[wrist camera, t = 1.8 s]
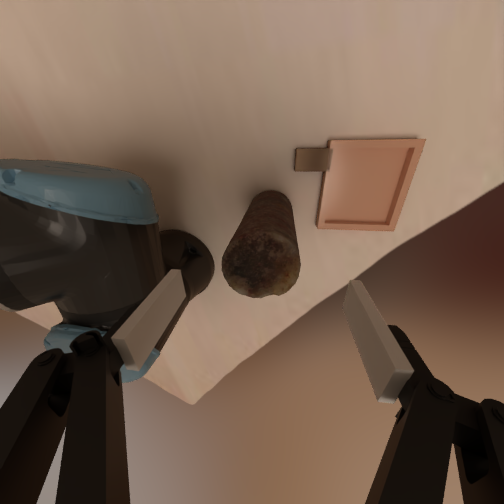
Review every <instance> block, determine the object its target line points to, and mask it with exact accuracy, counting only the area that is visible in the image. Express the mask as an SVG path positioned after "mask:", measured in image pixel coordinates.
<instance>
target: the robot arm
mask: <svg viewBox="0 0 504 504" xmlns="http://www.w3.org/2000/svg"><path fill="white" fill-rule="evenodd" d="M158 220H159V216H158V214H157V213H156V210H155V206H154V202H153V198H152V194H151V190H150V188H149V186H148V184H147V183H146V182H145V181H144V180H143V179H142V178H140V177H139V176H137V175H135V174H132V173H129V172H126V171H122V170H118V169H113V168H107V167H101V166H94V165H87V164H78V163H69V162H59V161H46V160H20V159H0V309H2V310H5V311H10V312H15V311H20V310H24V309H27V308H31V307H34V306H38V305H42V304H45V303H49V302H53V301H54V302H55V304H56V305H57V307H58V309H59V311H60V313H61V315H62V317H63V321H62V322H61V323H59V324H57V325H55V326H53V327H52V328H51V331H50V332H49V333H48V334H47V336H46V337H45V339H44V346H45V348H46V350H47V351H45V352H43V353H42V354H40V355H38V356H37V357H36V358H35V359H34V360H33V361H32V362H31V363H30V365H29V366H28V368H27V369H26V371H25V372H24V374H23V375H22V377H21V378H20V380H19V381H18V383H17V384H16V386H15V387H14V389H13V390H12V392H11V393H10V395H9V396H8V398H7V399H6V401H5V402H4V404H3V405H2V407H1V408H0V504H36V503H37V500H38V498H39V495H40V493H41V490H42V487H43V485H44V482H45V480H46V477H47V474H48V472H49V469H50V466H51V464H52V461H53V459H54V456H55V453H56V451H57V448H58V445H59V443H60V440H61V438H62V435H63V433H64V430H65V427H66V431H65V439H64V445H63V453H62V460H61V467H60V475H59V481H58V488H57V495H56V503H55V504H130V493H129V479H128V464H127V450H126V436H125V421H124V406H123V391H122V383H125V382H131V381H134V380H137V379H139V378H141V377H142V376H144V375H145V374H146V373H147V371H148V370H149V369H150V367H151V366H152V364H153V363H154V362H155V360H156V359H157V358H158V357H159V355H160V352H161V350H162V348H163V346H164V345H165V343H166V341H167V339H168V338H169V336H170V334H171V332H172V331H173V329H174V327H175V325H176V324H177V322H178V320H179V318H180V317H181V315H182V313H183V311H184V310H185V308H186V306H187V304H188V303H189V301H190V300H192V299H193V298H194V297H195V296H196V295H198V294H199V293H201V292H202V291H204V290H205V289H206V287H207V286H208V285H209V283H210V281H211V279H212V277H213V274H214V261H213V258H212V255H211V253H210V252H209V250H208V249H207V247H206V246H205V245H204V244H203V243H202V242H201V241H200V240H198V239H197V238H196V237H194V236H192V235H190V234H188V233H186V232H182V231H178V230H166V231H162V232H159V227H158ZM342 308H343V311H344V314H345V317H346V319H347V322H348V324H349V327H350V330H351V332H352V335H353V338H354V340H355V343H356V345H357V348H358V351H359V353H360V356H361V358H362V361H363V364H364V367H365V369H366V372H367V374H368V377H369V380H370V382H371V385H372V388H373V390H374V393H375V395H376V398H377V401H378V402H386V403H395V401H396V399H397V398H399V400H400V403H401V405H402V407H401V409H400V410H399V412H398V413H397V415H396V416H395V417H396V418H397V419H396V422H395V425H394V427H393V430H392V433H391V435H390V438H389V440H388V443H387V446H386V449H385V451H384V454H383V457H382V459H381V462H380V465H379V468H378V471H377V473H376V476H375V478H374V481H373V484H372V486H371V489H370V492H369V494H368V497H367V500H366V503H365V504H443V498H444V491H445V485H446V479H447V472H448V466H449V459H450V453H451V446H452V443H453V444H454V448H455V454H456V459H457V466H458V471H459V478H460V483H461V489H462V495H463V501H464V504H504V404H503V403H501V402H499V401H496V400H493V399H484V400H483V401H482V402H481V403H478V402H475V401H473V400H470V399H467V398H464V397H462V396H459V395H457V394H455V393H454V392H453V391H452V390H451V389H450V388H449V387H448V386H447V385H446V384H444V383H443V382H442V381H440V380H438V379H436V378H434V376H433V375H432V373H431V372H430V370H429V369H428V367H427V366H426V364H425V363H424V361H423V360H422V358H421V357H420V355H419V354H418V352H417V351H416V350H415V348H414V346H413V345H412V343H410V340H409V339H408V337H407V336H406V334H405V333H404V332H403V331H402V330H401V329H400V328H398V327H397V326H395V325H387V324H386V322H385V321H384V319H383V317H382V316H381V314H380V312H379V311H378V309H377V307H376V306H375V304H374V302H373V300H372V299H371V297H370V295H369V294H368V292H367V290H366V289H365V287H364V285H363V284H362V282H361V281H356V280H350V281H349V285H348V289H347V293H346V297H345V300H344V304H343V307H342Z"/></svg>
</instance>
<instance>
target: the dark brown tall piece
mask: <svg viewBox="0 0 504 504" xmlns="http://www.w3.org/2000/svg"><path fill="white" fill-rule="evenodd" d="M300 266H301V263H300V256H299V249H298V243H297V237H296V231H295V224H294V217H293V210H292V206H291V203H290V201H289V199H288V198H287V197H286V196H285V195H284V194H282V193H279V192H277V191H272V190H270V191H265V192H262V193H260V194H259V195H257V196H256V197H255V198H254V199H253V201H252V202H251V204H250V206H249V208H248V210H247V212H246V214H245V215H244V217H243V219H242V221H241V223H240V225H239V227H238V228H237V230H236V232H235V234H234V236H233V237H232V239H231V240H230V243H229V245H228V246H227V248H226V250H225V252H224V255H223V257H222V272H223V275H224V278H225V279H226V281H227V282H228V284H229V286H230V287H232V289H233V290H235V291H236V292H238V293H239V294H242V295H246V296H249V297H252V298H262V297H265V296H269V295H273V294H274V295H278V296H279V295H281V294H284V293H286V292H287V291H289V290H290V288H291V287H292V286H293V285H294V284H295V283H296V281H297V279H298V277H299V272H300Z"/></svg>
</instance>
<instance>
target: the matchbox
mask: <svg viewBox="0 0 504 504" xmlns="http://www.w3.org/2000/svg"><path fill="white" fill-rule="evenodd" d="M330 149H331V150H330ZM329 150H330V151H329ZM329 152H330V153H331V155H332V154H333V152H332V148H310V149H296V155H295V167H294V170H295V171H327V168H328V170H329V169H330V167H329V166H330V165H329V164H331V161H332V159H331V157H332V156H331V155H329V154H330V153H329ZM330 156H331V157H330ZM328 157H329V160H328ZM330 159H331V161H330ZM328 161H330V162H329V163H328ZM327 163H328V165H329V166H328V165H327ZM329 172H330V171H329Z"/></svg>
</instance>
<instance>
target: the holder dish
mask: <svg viewBox="0 0 504 504" xmlns="http://www.w3.org/2000/svg"><path fill="white" fill-rule="evenodd" d="M425 141H426V139H382V140H329V141H328V144H327V148H332V152H333V154H332V155H331V153H330V152H329V153H330V154H329V155H331V156H332V157H331V156H330V157H331V159H332V161H331V159H330V161H331V164H329V165H330V166H329V165H328V163H329V162H330V161H328V163H327V165H328V166H329V167H330V169H329V170H328V168H327V171H323V178H322V185H321V191H320V198H319V205H318V212H317V219H316V227H317V229H338V230H367V231H394V230H395V227H396V224H397V221H398V218H399V216H400V213H401V210H402V207H403V204H404V201H405V198H406V196H407V193H408V190H409V187H410V184H411V181H412V178H413V176H414V173H415V170H416V167H417V164H418V161H419V158H420V156H421V153H422V150H423V147H424V144H425ZM330 150H331V149H330ZM330 150H329V151H330ZM328 160H329V157H328ZM329 171H330V172H329Z"/></svg>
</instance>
